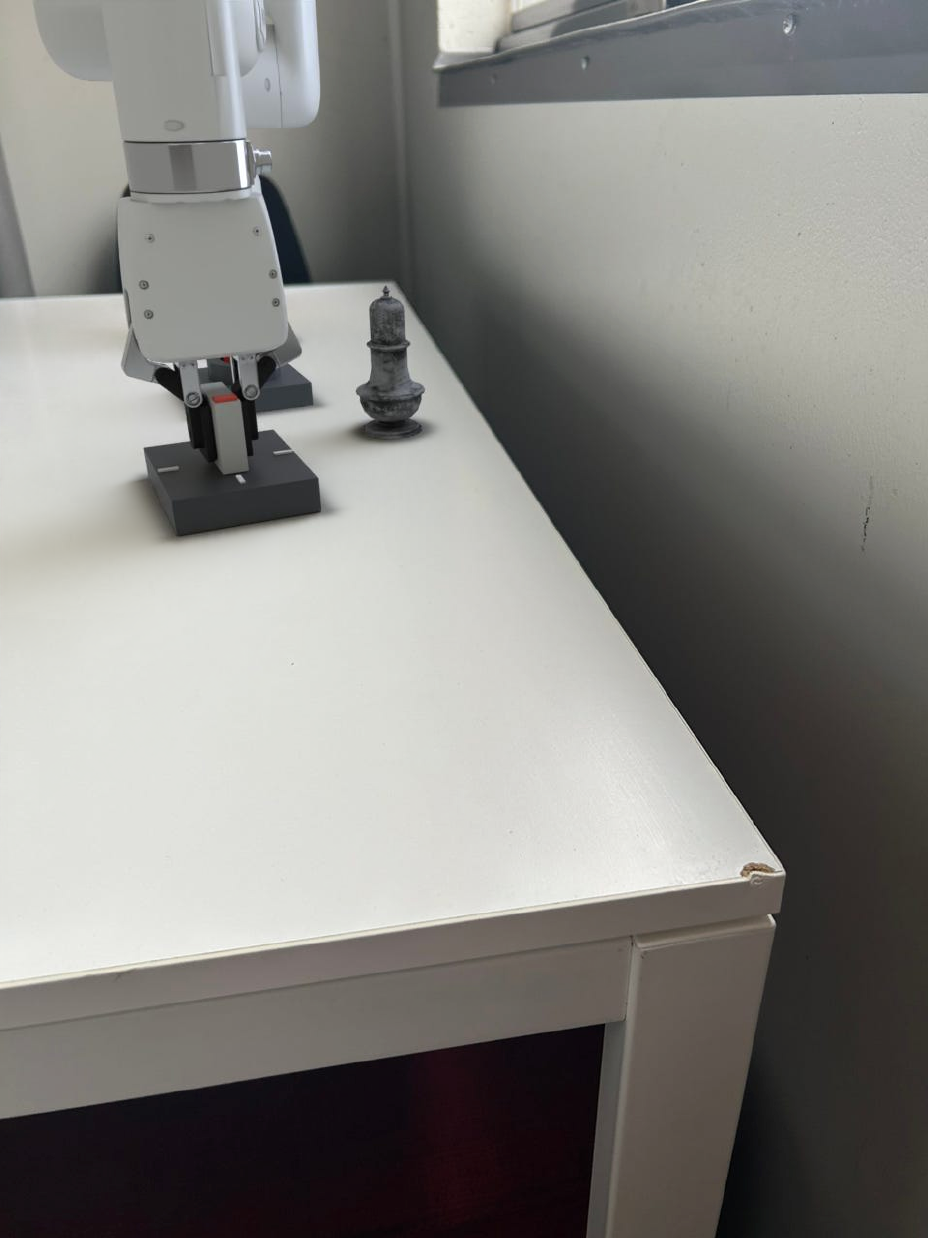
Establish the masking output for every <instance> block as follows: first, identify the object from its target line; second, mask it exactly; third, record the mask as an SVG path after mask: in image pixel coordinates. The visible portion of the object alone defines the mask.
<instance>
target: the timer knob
mask: <svg viewBox="0 0 928 1238" xmlns="http://www.w3.org/2000/svg"><path fill="white" fill-rule="evenodd" d="M200 386H201V392H202V393H203V394H204V396H205V400H206V402H207V404H208V405H209V406H210V407H211V411H212V417H213V425H214V432H215V440H216V447H217V455H218V459H216V461H215V464H216V465H217V466H218V468H219V469H220V470H221V472H222V473H223V474H224V475H226V474H232V473H238V472H245V471H249V467H248V459H247V451H246V442H245V434H244V426H243V417H242V409H241V401H240V400H239V399H238V398H237V396H236V395H235V394H234V393H232V392H231V391H230V390H229V389H228V388H227V387H226V386H225V385H224V384H223V383H222V382H216V383H208V384H200Z"/></svg>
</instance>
